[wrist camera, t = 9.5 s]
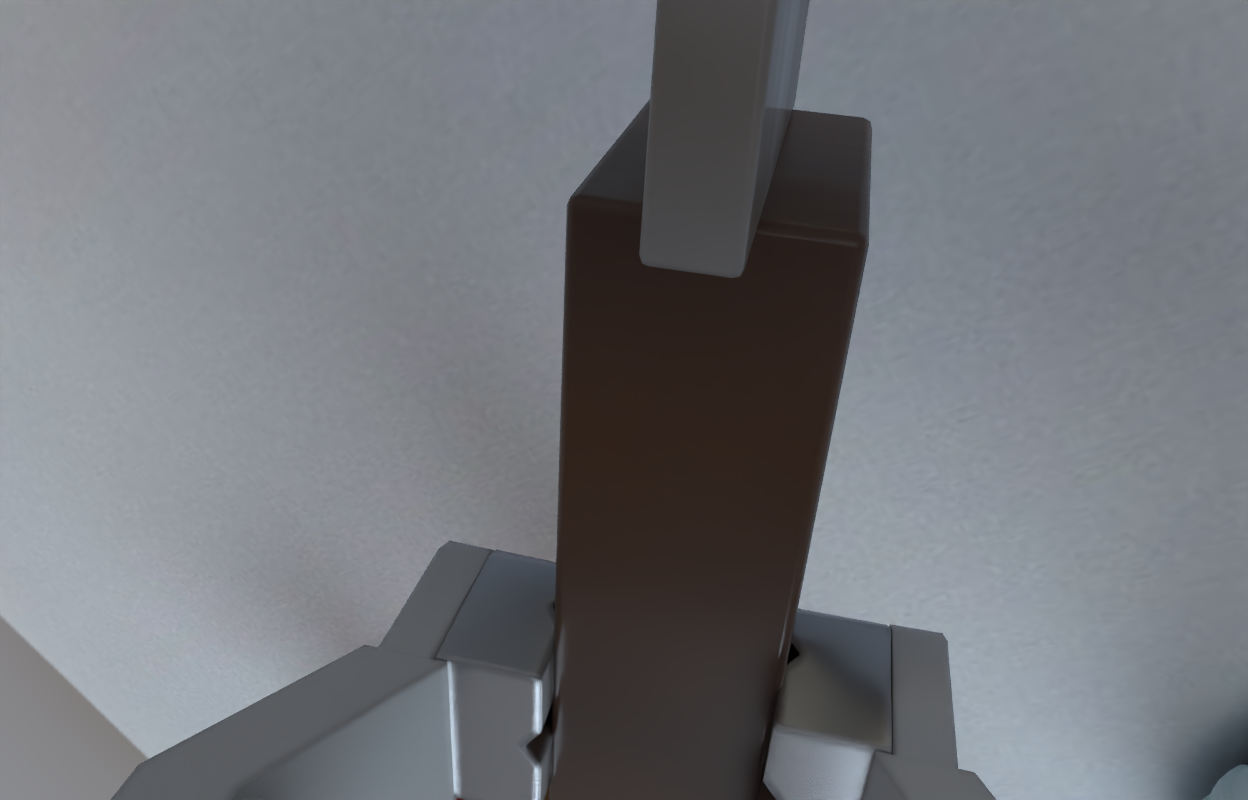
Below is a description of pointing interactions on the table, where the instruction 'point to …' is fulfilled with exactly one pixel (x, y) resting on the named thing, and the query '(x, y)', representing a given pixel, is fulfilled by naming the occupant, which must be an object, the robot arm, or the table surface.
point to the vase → (1231, 785)
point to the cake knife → (698, 405)
